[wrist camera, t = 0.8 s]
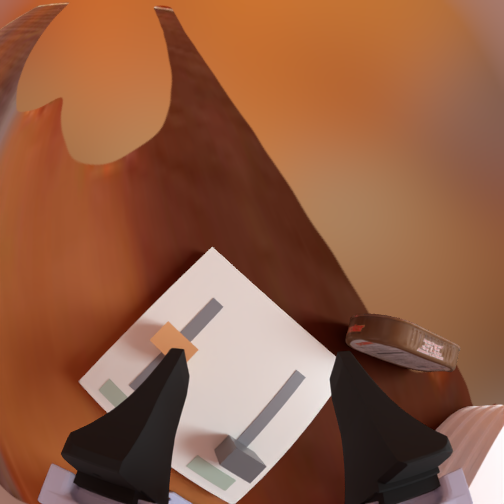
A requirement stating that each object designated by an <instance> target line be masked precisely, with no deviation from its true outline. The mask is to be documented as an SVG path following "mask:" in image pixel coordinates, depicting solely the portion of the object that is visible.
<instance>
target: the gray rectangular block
mask: <svg viewBox="0 0 504 504" xmlns="http://www.w3.org/2000/svg"><path fill="white" fill-rule="evenodd" d="M214 451H215V454H216V457H217V460H218V462H219V465H220V466H222V467H223V468H225V469H227V470H228V471H230V472H231V473H233V474H235V475H236V476H238V477H240V478H241V479H243V480H245V481H246V482H248V483H251V482H252V481H253V480H254V479H255V478H256V477H257V476H258V475H259V474H260V473H261V472H262V471H263V470H264V469H265V468H266V467H267V466H266V465H265V464H264V463H263V462H262V460H261V459H260V458H259V457H258V456H257V454H256V453H255V452H254V451H252V450H251V449H249V448H247V447H246V446H245V445H243V444H242V443H240V442H239V441H237V440H236V439H234V438H233V437H232V436H230V435H228V436H227V437H226V438H225V439H224V440H223V441H222V442H221V443H220V444H219V445H218V446H217V447H216V448H215V449H214Z"/></svg>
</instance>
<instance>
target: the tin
mask: <svg viewBox="0 0 504 504" xmlns="http://www.w3.org/2000/svg"><path fill="white" fill-rule="evenodd" d="M345 341H346V344H347V345H348V346H349V347H351V348H353V349H355V350H357V351H359V352H362V353H365V354H367V355H370V356H373V357H375V358H378V359H380V360H383V361H386V362H389V363H392V364H395V365H398V366H401V367H404V368H408V369H412V370H417V371H424V372H433V371H447V372H452V371H453V370H454V369H455V367H456V363H457V359H458V354H459V351H460V347H459V346H458V345H457V344H455V343H453V342H451V341H449V340H447V339H445V338H443V337H441V336H439V335H437V334H435V333H433V332H430V331H429V330H427V329H424V328H422V327H420V326H418V325H416V324H414V323H412V322H410V321H406V320H403V319H400V318H396V317H391V316H386V315H379V314H358V315H355V316H352V317H351V318H350V325H349V328H348V331H347V334H346V339H345Z"/></svg>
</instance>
